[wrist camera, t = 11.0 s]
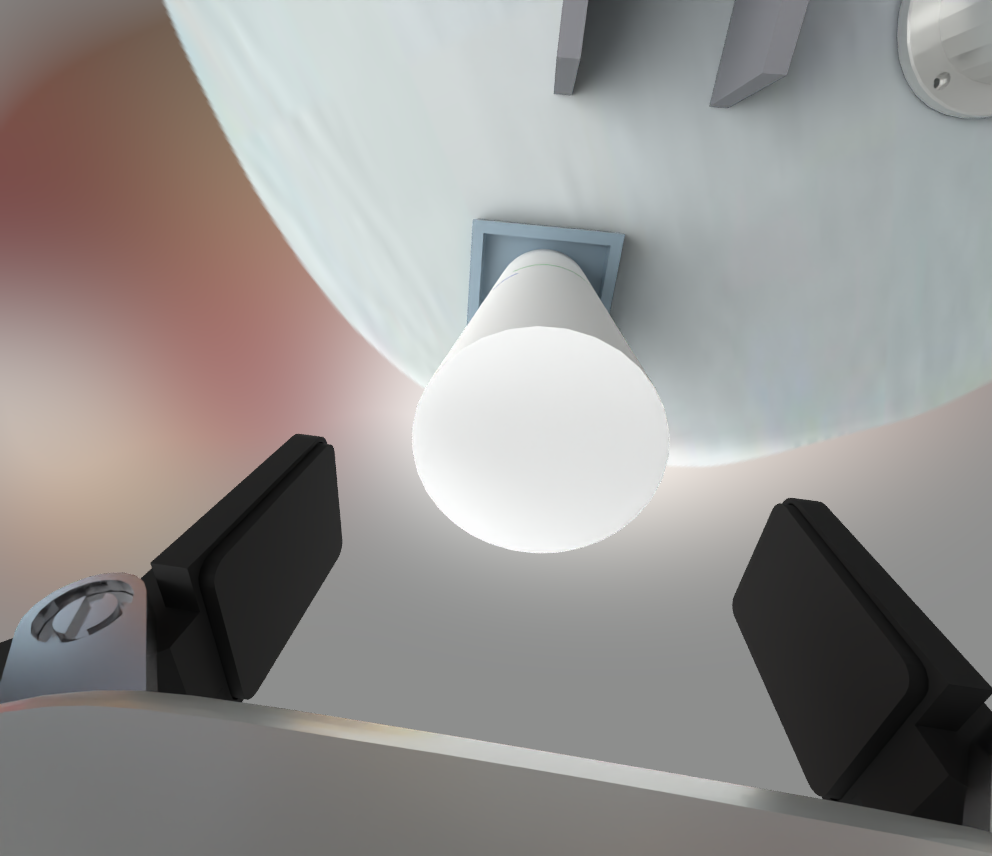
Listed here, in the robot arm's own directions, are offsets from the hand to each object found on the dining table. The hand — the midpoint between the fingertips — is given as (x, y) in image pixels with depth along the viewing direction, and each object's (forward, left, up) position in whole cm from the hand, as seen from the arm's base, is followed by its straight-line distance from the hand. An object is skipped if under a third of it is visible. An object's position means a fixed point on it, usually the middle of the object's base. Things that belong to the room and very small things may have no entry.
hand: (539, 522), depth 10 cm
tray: (0, 0, -29) cm, 29 cm away
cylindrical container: (0, 0, -28) cm, 28 cm away
